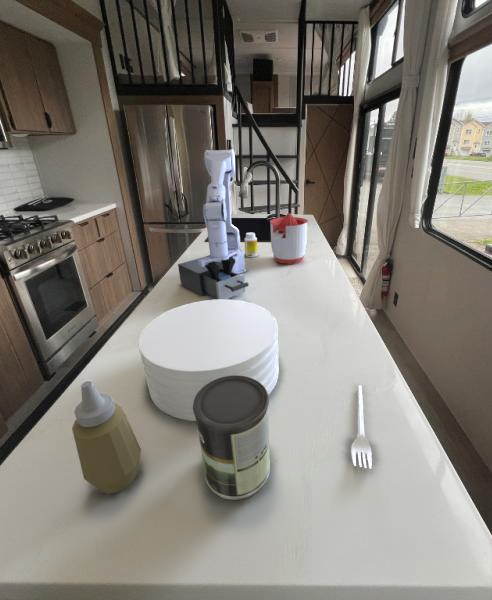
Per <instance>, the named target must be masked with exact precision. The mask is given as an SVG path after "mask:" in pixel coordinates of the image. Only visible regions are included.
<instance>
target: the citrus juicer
mask: <svg viewBox="0 0 492 600" xmlns="http://www.w3.org/2000/svg"><path fill="white" fill-rule="evenodd" d="M308 222H309V220H308V219H306V218H304V217H299V216H298V217H297V216H296V217H295V216H293V215H292V214H291V213H290V212H288V213H286V214H285V216H283V217H276V218H273V219H270V221H269V223H270V244H271V247H270V248H271V251H272V254H273V258H274V260H275V261H276V262H277V263H280V264H286V265H287V264H288V265H294V264H298V263H300V262H302V261H303V259H304V258H305V257H304V256H305V253H306V250H307V242H308Z"/></svg>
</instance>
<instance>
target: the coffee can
mask: <svg viewBox="0 0 492 600" xmlns="http://www.w3.org/2000/svg"><path fill="white" fill-rule="evenodd" d="M269 399H270V398H269V395H268V393H267V391H266V389H265V387H264V386H263V385H262V384H261V383H260V382H258V381H256V380H255V379H252V378H249V377H246V376H238V375H234V376H226V377H221V378H218V379H215V380H213V381H211V382H210V383H208V384H206V385H205V386H204V387H203V388H202V389H201V390H200V391H199V392H198V393H197V395H196V397H195V399H194V402H193V411H194V415H195V418H196V421H195V423H196V428H197V429H196V430H197V435H198V440H199V446H200V453H201V457H202V464H203V469H204V478H205V482H206V484H207V486H208V488H209V489H210V491H212V493H213V494H215V495H217V496H218V497H220V498H222V499H224V500H225V499H226V500H233V501H236V500H244V499H246V498H249V497H251V496H253V495H255V494H256V493H258V492H259V491H260V490H261V489H262V488H263V487H264V486H265V484H266V482H267V481H268V479H269V476H270V474H271V473H270V472H271V459H270V433H269V431H270V430H269Z"/></svg>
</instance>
